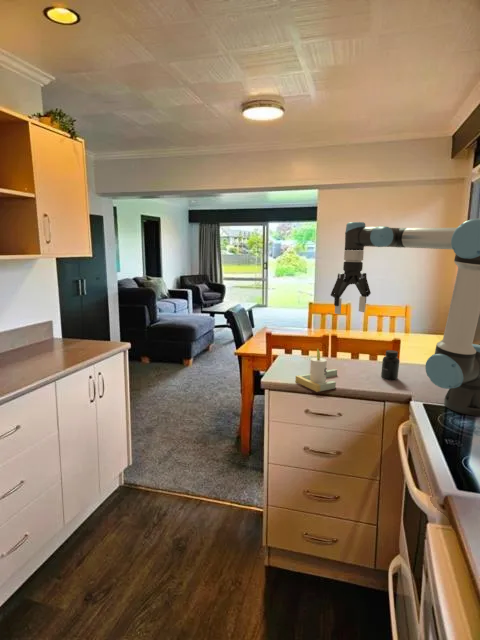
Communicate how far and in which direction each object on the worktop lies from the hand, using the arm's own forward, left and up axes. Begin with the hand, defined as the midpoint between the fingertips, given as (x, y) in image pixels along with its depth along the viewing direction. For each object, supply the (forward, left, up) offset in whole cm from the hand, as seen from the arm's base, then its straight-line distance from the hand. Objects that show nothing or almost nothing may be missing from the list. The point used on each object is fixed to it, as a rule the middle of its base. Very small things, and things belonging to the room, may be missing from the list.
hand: (349, 312), depth 169 cm
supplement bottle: (-8, -18, -29) cm, 35 cm away
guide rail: (0, +10, -29) cm, 30 cm away
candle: (0, +15, -29) cm, 33 cm away
